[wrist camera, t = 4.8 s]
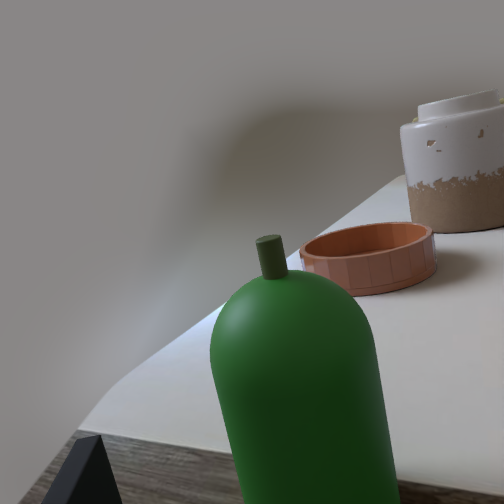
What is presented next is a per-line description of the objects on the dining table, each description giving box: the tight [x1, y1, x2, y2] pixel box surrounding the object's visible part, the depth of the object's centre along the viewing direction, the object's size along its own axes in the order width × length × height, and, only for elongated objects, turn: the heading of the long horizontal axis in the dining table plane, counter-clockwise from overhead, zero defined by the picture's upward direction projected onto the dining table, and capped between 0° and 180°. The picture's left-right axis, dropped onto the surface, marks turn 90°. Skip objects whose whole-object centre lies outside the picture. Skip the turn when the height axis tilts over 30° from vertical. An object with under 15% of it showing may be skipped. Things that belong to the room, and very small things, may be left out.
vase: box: [400, 89, 504, 233], centre depth 64 cm, size 15×15×17 cm
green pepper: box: [210, 235, 401, 504], centre depth 19 cm, size 7×7×13 cm
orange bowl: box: [299, 222, 437, 296], centre depth 52 cm, size 14×14×4 cm
